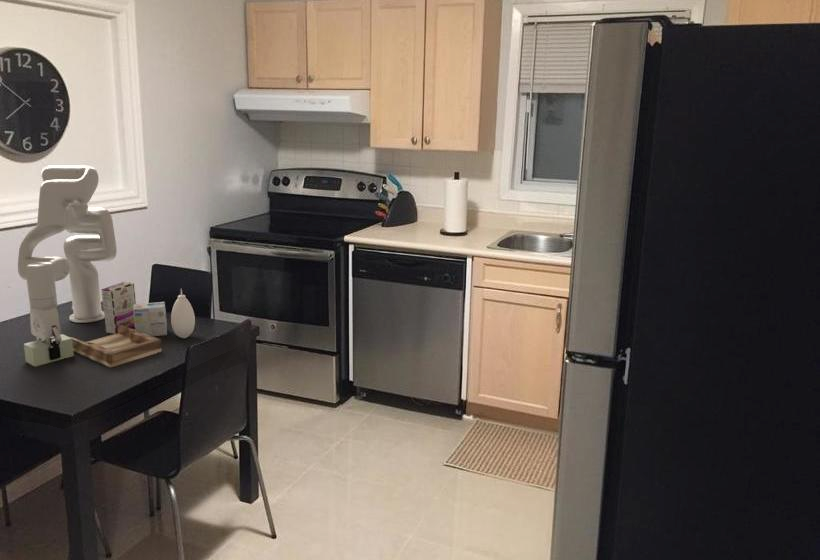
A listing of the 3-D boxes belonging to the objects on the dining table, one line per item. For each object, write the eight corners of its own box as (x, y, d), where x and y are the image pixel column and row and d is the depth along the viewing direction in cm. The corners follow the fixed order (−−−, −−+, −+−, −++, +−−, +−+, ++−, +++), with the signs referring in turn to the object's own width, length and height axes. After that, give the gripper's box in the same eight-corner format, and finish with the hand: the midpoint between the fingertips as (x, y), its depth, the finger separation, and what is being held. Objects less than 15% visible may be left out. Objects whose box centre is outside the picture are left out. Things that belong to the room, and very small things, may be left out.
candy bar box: (127, 323, 243) (123, 281, 238) (138, 325, 241) (135, 282, 237) (104, 333, 232) (100, 288, 228) (116, 335, 231) (112, 290, 227)
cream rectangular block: (25, 361, 205) (23, 343, 204) (64, 351, 214) (62, 334, 213) (34, 366, 202) (32, 348, 200) (73, 355, 211) (71, 338, 209)
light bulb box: (167, 329, 238) (165, 301, 235) (167, 335, 232) (165, 306, 229) (135, 332, 234) (133, 303, 232) (135, 338, 228) (132, 308, 226)
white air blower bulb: (198, 333, 234) (195, 285, 230) (192, 341, 227) (189, 291, 222) (176, 333, 234) (173, 285, 230) (169, 341, 227) (165, 291, 222)
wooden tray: (70, 349, 216) (68, 337, 215) (121, 335, 230) (120, 324, 229) (110, 367, 203) (109, 354, 202) (161, 351, 217) (160, 339, 216)
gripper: (17, 299, 205) (24, 353, 210) (44, 310, 195) (51, 366, 200) (42, 294, 211) (48, 346, 216) (69, 304, 201) (75, 359, 206)
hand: (49, 355), depth 208 cm, fingers closed on cream rectangular block, 6 cm apart
